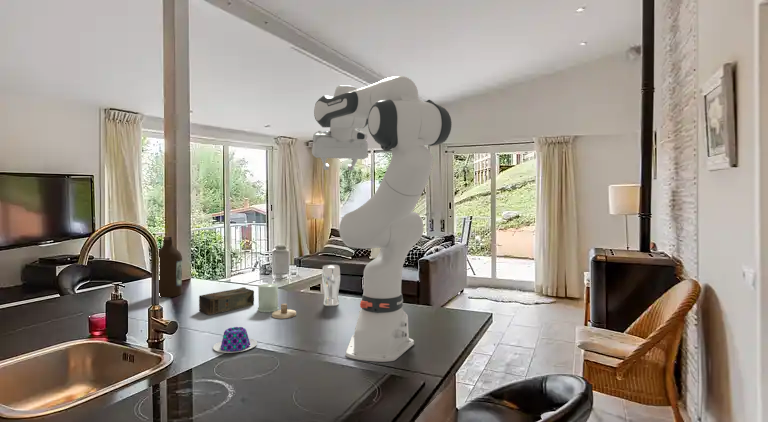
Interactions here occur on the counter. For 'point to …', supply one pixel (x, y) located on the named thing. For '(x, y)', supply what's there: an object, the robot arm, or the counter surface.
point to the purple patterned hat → (235, 341)
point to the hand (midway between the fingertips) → (338, 169)
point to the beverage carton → (226, 300)
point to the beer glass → (331, 284)
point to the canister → (268, 298)
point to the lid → (283, 312)
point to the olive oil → (170, 269)
